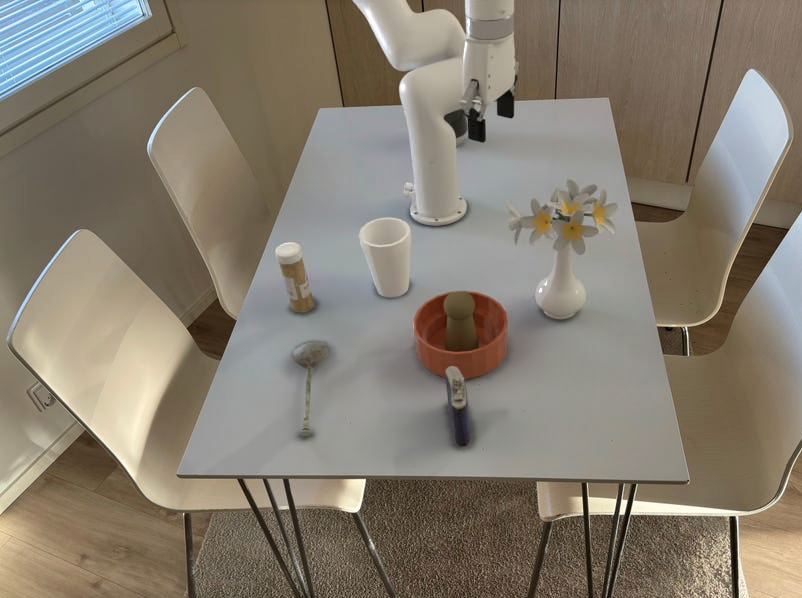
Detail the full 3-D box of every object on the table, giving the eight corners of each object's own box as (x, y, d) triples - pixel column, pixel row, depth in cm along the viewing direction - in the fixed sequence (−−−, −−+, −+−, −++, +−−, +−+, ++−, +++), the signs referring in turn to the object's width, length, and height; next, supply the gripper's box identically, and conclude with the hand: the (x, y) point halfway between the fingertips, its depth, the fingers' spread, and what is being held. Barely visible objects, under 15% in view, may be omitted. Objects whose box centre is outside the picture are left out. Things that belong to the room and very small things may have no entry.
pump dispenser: (425, 136, 179) (420, 77, 169) (465, 131, 180) (462, 73, 169) (429, 155, 172) (424, 95, 161) (470, 150, 173) (468, 90, 162)
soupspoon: (332, 344, 126) (296, 349, 126) (328, 330, 124) (292, 335, 124) (326, 435, 110) (285, 440, 110) (321, 421, 108) (279, 426, 108)
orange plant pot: (399, 360, 121) (394, 333, 117) (448, 308, 130) (446, 280, 126) (477, 394, 114) (476, 366, 110) (523, 336, 124) (524, 308, 119)
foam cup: (423, 276, 138) (417, 221, 128) (406, 306, 131) (399, 250, 122) (379, 269, 140) (370, 214, 131) (361, 297, 134) (350, 242, 125)
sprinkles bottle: (317, 309, 132) (303, 251, 123) (294, 316, 131) (278, 259, 122) (310, 295, 135) (296, 238, 126) (288, 303, 134) (271, 245, 125)
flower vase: (501, 294, 132) (500, 177, 115) (596, 283, 133) (609, 165, 115) (513, 340, 123) (514, 221, 105) (615, 328, 124) (633, 207, 106)
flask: (446, 404, 113) (442, 358, 106) (464, 401, 113) (461, 355, 106) (455, 448, 107) (451, 402, 99) (474, 445, 107) (471, 399, 99)
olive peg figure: (475, 359, 119) (473, 310, 112) (441, 355, 120) (437, 307, 113) (481, 335, 124) (479, 287, 116) (448, 332, 125) (444, 284, 117)
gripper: (496, 4, 115) (497, 104, 127) (439, 40, 105) (446, 145, 117) (537, 10, 111) (534, 112, 124) (482, 48, 102) (484, 155, 114)
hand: (491, 128), depth 120 cm, fingers open, 9 cm apart
